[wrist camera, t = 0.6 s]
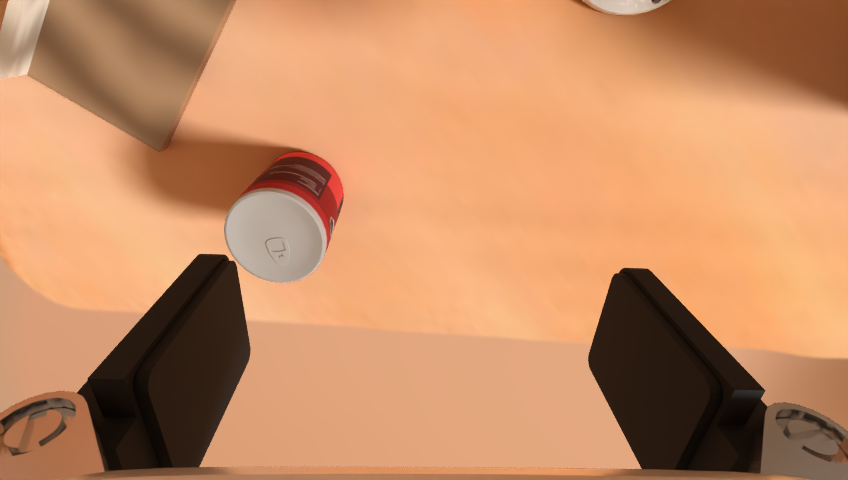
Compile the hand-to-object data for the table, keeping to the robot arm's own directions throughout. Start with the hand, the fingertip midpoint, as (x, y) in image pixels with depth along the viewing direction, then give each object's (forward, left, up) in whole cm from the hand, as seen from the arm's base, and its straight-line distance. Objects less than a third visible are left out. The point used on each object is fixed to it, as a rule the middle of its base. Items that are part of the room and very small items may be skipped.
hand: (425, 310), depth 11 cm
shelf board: (+7, -22, -31) cm, 39 cm away
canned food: (+13, -4, -32) cm, 34 cm away
